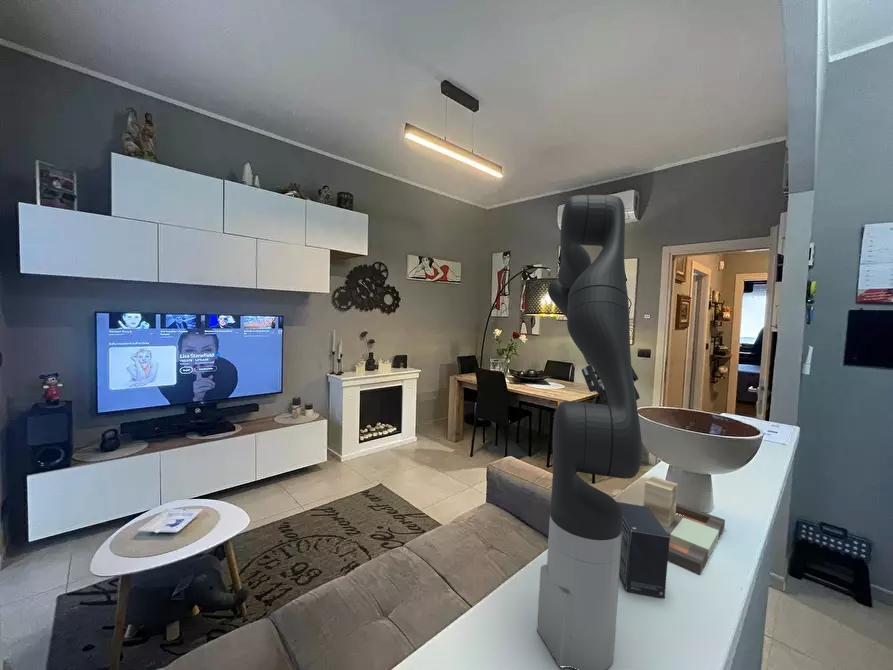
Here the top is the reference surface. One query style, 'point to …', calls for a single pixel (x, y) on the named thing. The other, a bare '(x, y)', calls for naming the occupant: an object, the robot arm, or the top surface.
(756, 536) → the top surface
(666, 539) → the small box
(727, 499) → the top surface
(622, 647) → the top surface
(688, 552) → the board
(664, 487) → the maple block
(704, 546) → the pad
